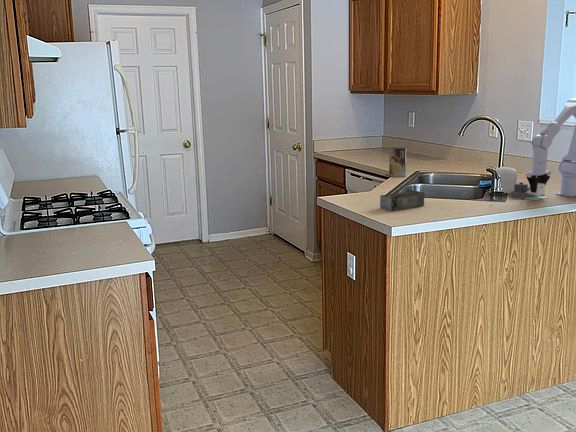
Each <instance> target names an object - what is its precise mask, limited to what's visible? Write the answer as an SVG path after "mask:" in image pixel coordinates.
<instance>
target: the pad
mask: <svg viewBox="0 0 576 432" xmlns="http://www.w3.org/2000/svg"><path fill="white" fill-rule="evenodd" d="M525 199H527V200H531V201H539V200H544V199H545V200H546V199H549V197H548V196H545V195H544V196H532V197H526V198H525ZM525 199H524V200H525Z"/></svg>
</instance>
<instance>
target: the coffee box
mask: <svg viewBox="0 0 576 432" xmlns="http://www.w3.org/2000/svg"><path fill="white" fill-rule="evenodd" d="M388 163H389V166H388V167H389V170H388V171H389V176H388V177H392V178H393V177H394V178H395V177H396V178H398V177H399V178H400V177H401V178H405V177H406V176H407V174H406V173H407V147H402V146H401V147H400V146H399V147H393V146H392V147H389V162H388Z"/></svg>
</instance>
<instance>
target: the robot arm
mask: <svg viewBox="0 0 576 432" xmlns="http://www.w3.org/2000/svg"><path fill="white" fill-rule="evenodd" d="M570 117H573V118H575V119H576V98H575V97H571V98H569V99H568V100H567V101H566V102H565V103H564V108H563V109H562V110H561V112H560V113H559V114H558V115H557V117H556V118H555V119H554V121H551V122H547V124H546V125H545V127H544V128H543V130H541V131H540V132H539V134H536V135H535V136H533V138H532V140H531V146H532V150H533V154H532V155H533V156H532V169H531V170H530V171H528V172H525V178H526V180H527V182H528V183H529V184H528V185H529V187H530V189H531V192H534V193H535V192H536V190H537V184H538V183H543V184H545V186H546V185H547V183H548V181H549V179H551V175H552V170H551V169H547V161H548V150H549V148H550V147H551V146H552V143H553V140H554V138H555V137H556V136H557V135H558V133H560V132H561V126H562V125H563V124H564V123H566V121H568V120H569V119H570ZM571 137H572V138H571V141H570V144H569V148H568V152H567V154H566V155H564V156H563V157H562V159H561V161H560V163H559V164H558V168H557V169H558V172H559V173H560V176H561V178H560V179H561V180H560V190H559V192H556V193H555V195H560V196H565V197H576V124H575V126H574V129H573V133H572V136H571Z"/></svg>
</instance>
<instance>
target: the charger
mask: <svg viewBox="0 0 576 432" xmlns="http://www.w3.org/2000/svg"><path fill="white" fill-rule="evenodd" d="M545 187H546V185H545V184H543V183H538V184H537V190H536V192H535V193H534V192H531V189H530V188H529V194H531V195H536V196H539V195H544V196H545V192H544V190H545V189H546V188H545ZM545 191H546V190H545Z"/></svg>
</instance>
